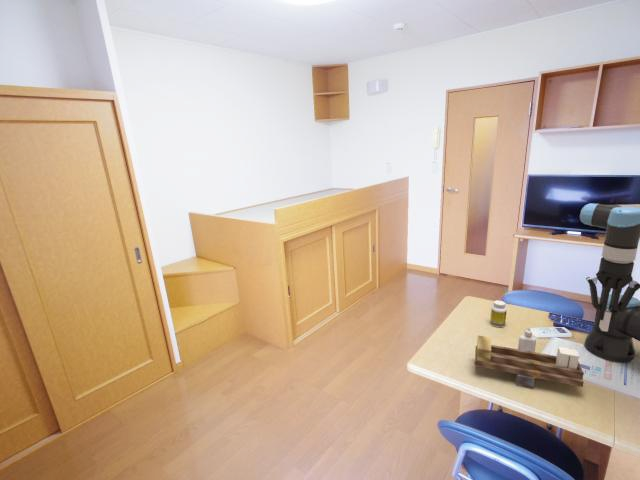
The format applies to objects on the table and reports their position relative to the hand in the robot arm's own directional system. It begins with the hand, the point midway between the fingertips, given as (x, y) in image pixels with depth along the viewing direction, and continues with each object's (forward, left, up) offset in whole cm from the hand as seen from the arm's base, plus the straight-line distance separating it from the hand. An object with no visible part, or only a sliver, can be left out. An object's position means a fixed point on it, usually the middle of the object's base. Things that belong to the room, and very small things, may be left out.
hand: (603, 328), depth 106 cm
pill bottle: (+26, -36, -24) cm, 51 cm away
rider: (+8, 0, -17) cm, 19 cm away
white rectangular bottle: (+17, -15, -24) cm, 33 cm away
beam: (+20, 0, -23) cm, 31 cm away
